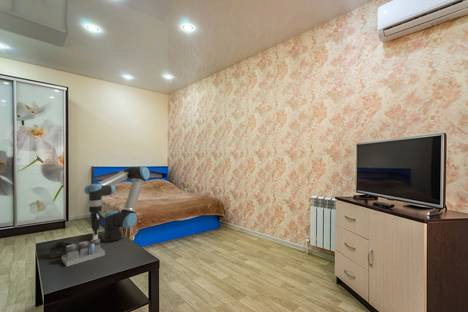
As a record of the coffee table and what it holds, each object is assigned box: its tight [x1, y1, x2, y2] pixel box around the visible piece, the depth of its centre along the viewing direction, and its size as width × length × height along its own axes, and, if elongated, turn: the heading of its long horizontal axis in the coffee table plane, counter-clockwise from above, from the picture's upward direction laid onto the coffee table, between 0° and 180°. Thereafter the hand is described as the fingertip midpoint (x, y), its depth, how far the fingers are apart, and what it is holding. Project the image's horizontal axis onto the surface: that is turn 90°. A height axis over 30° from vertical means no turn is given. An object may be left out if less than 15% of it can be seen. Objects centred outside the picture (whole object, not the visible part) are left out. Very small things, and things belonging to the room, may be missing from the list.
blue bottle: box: [89, 243, 95, 254], centre depth 152 cm, size 2×2×6 cm
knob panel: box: [61, 243, 106, 267], centre depth 152 cm, size 22×14×7 cm, turn 138°
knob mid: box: [78, 240, 90, 249], centre depth 152 cm, size 6×6×7 cm
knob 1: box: [66, 243, 78, 252], centre depth 147 cm, size 6×6×7 cm
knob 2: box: [90, 237, 101, 245], centre depth 157 cm, size 6×6×7 cm
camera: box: [49, 240, 73, 259], centre depth 157 cm, size 13×10×10 cm
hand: (95, 239), depth 157 cm, fingers closed
